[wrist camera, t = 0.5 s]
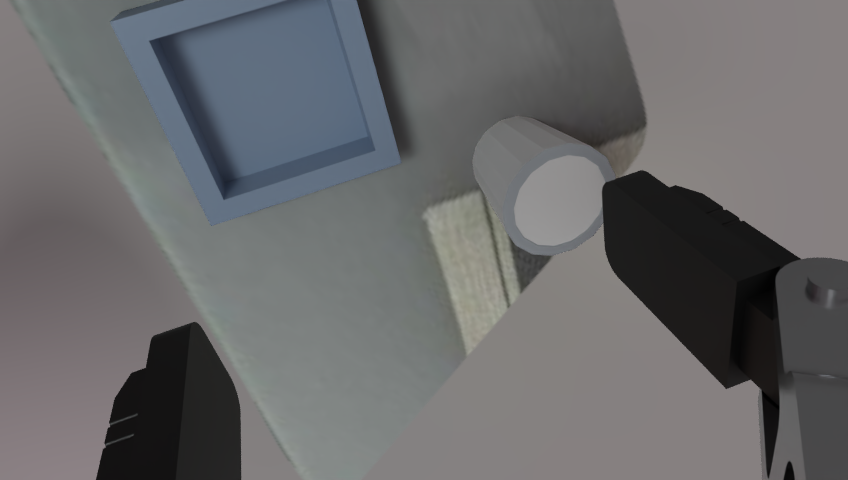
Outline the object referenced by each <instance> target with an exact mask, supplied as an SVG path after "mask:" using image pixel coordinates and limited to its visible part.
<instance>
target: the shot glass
mask: <svg viewBox="0 0 848 480" xmlns="http://www.w3.org/2000/svg"><path fill="white" fill-rule="evenodd" d="M472 165H473V171H474V177H475V179H476V181H477V182H478V184H479V186H480V187H481V189H482V191H483V193H484V194H485V196H486V198H487V199H488V201H489V203H490V205H491V206H492V208H493V210H494V212H495V213H496V215H497V217H498V218H499V220H500V222H501V224H502V225H503V227H504V229H505V230H506V232H507V233H508V235H509V236H510V238H511V239H512V241H513V242H514V244H515V245H516V246H518V247H520V248H522V249H524V250H525V251H527V252H529V253H531V254H536V255H556V254H559V253H563V252H566V251H569V250H572V249H575V248H576V247H578V246H579V245H580V244H582V243H583V242H585V241H586V240H588V239H589V238H591V237H592V236H593V235H594V234H595V233H596V231H597V230H598V229H599V228H600V226H601V225H602V224H603V206H602V188H603V185H604V184H605V183H606V182H608V181H611V180H614V179H615V173H614V171H613V169H612V167H611V165H610V163H609V161H608V159H607V157H605V156H604V155H603V154H601V153H600V152H598V151H597V150H595V149H594V148H593V147H591V146H589V145H587V144H585V143H583V142H581V141H579V140H577V139H575V138H573V137H571V136H569V135H567V134H565V133H563V132H561V131H558V130H556V129H554V128H552V127H550V126H548V125H546V124H544V123H542V122H540V121H538V120H536V119H534V118H530V117H523V116H514V117H510V118H507V119H503V120H500V121H499V122H497V123H496V124H495V125H493V126H492V127H490V128H489V129H488V130H486V132H485V133H484V134H483V136H482V137H481V139H480V140H479V142H478V143H477V145H476V148H475V152H474V156H473V160H472Z"/></svg>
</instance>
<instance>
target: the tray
mask: <svg viewBox="0 0 848 480" xmlns="http://www.w3.org/2000/svg"><path fill="white" fill-rule="evenodd" d="M110 23H111V25H112V27H113V29H114V31H115V33H116V35H117V37H118V39H119V41H120V43H121V45H122V47H123V49H124V51H125V53H126V56H127V58H128V60H129V62H130V64H131V66H132V68H133V70H134V72H135V74H136V76H137V78H138V80H139V82H140V84H141V86H142V88H143V90H144V92H145V94H146V96H147V98H148V100H149V102H150V104H151V106H152V108H153V110H154V112H155V114H156V116H157V118H158V120H159V122H160V124H161V126H162V128H163V130H164V132H165V134H166V136H167V138H168V140H169V142H170V144H171V146H172V148H173V150H174V152H175V154H176V156H177V158H178V160H179V162H180V164H181V166H182V168H183V170H184V172H185V174H186V176H187V178H188V180H189V182H190V184H191V186H192V188H193V190H194V192H195V194H196V196H197V198H198V200H199V202H200V205H201V207H202V209H203V211H204V213H205V215H206V217H207V219H208V221H209V223H210V225H211V226H212V225H215V224H219V223H222V222H225V221H228V220H231V219H234V218H237V217H240V216H243V215H246V214H249V213H252V212H255V211H258V210H261V209H264V208H267V207H270V206H273V205H276V204H279V203H282V202H285V201H288V200H291V199H294V198H297V197H300V196H303V195H306V194H309V193H312V192H315V191H318V190H322V189H325V188H328V187H331V186H334V185H337V184H340V183H343V182H346V181H349V180H352V179H355V178H358V177H361V176H364V175H367V174H370V173H373V172H376V171H379V170H382V169H385V168H388V167H391V166H394V165H397V164H400V163H401V159H400V156H399V152H398V148H397V145H396V141H395V138H394V134H393V130H392V127H391V123H390V120H389V116H388V112H387V109H386V105H385V101H384V98H383V94H382V91H381V87H380V83H379V80H378V76H377V72H376V69H375V65H374V62H373V58H372V54H371V51H370V47H369V44H368V40H367V36H366V33H365V29H364V25H363V22H362V18H361V15H360V11H359V7H358V4H357V0H161V1H157V2H154V3H150V4H147V5H143V6H140V7H136V8H133V9H129V10H126V11H122V12H121V13H119V14H118V15H117V16H116V17H115V18H114V19H113V20H111V21H110Z"/></svg>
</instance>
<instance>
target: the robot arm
mask: <svg viewBox="0 0 848 480" xmlns="http://www.w3.org/2000/svg"><path fill="white" fill-rule="evenodd" d="M602 206H603V223H604V241H605V251H606V255H607V258H608V261H609V263H610V266H611V268H612V269H613V271H614V273H615V274H616V275H617V276H618V278H619V279H620V280H621V281H622V282H623V283H624V284H625V285H626V286H627V287H628V288H629V289H630V290H631V291H632V292H633V293H634V294H635V295H636V296H637V297H638V298H639V299H640V300H641V301H642V302H643V303H644V304H645V305H646V307H647V308H648V309H650V311H651V312H652V313H653V314H654V315H655V316H656V317H657V318H658V319H659V320H660V321H661V322H662V323H663V324H664V325H665V326H666V327H667V328H668V329H669V330H670V331H671V332H672V333H673V334H674V335H675V336H676V337H677V338H678V340H679V341H680V342H682V344H683V345H684V346H685V347H686V348H687V349H688V350H689V351H690V352H691V353H692V354H693V355H694V356H695V357H696V358H697V359H698V360H699V361H700V362H701V363H702V364H703V365H704V366H705V367H706V368H707V369H708V371H709V372H710V373H711V374H712V375H713V376H714V377H715V378H716V379H717V380H718V381H719V382H720V383H721V384H722V385H723V386H724V387H725V388H726V389H727V388H730V387H733V386H735V385H738V384H740V383H743V382H745V381H748V380H752V381H753V382H754V383H755V384H756V385H757V386H758V387H759V388H760V390H759V397H758V407H759V426H760V444H761V462H762V480H848V262H847V261H843V260H838V259H832V258H806V259H800V258H798V257H797V256H795V255H794V254H792V253H791V252H790V251H788V250H786V249H785V248H783V247H782V246H780V245H779V244H777V243H776V242H775V241H773V240H771V239H770V238H768V237H767V236H766V235H764V234H762V233H761V232H760V231H758V230H756V229H755V228H753V227H752V226H751V225H749V224H748V223H746V222H745V221H740V220H739V218H738V217H737V216H736V215H734V214H733V213H731V212H729V211H728V210H723V207H722V206H720V205H719V204H717V203H716V202H714V201H713V200H711V199H710V198H708V197H707V196H705V195H704V194H702V193H699V192H696V191H692V190H689V189H686V188H683V187H679V186H676V185H675V186H673V187H668V186H666V185H665V184H663V183H662V182H661V181H659V180H658V179H656V178H655V177H653V176H652V175H651V174H649V173H648V172H646V171H638V172H635V173H632V174H629V175H626V176H623V177H620V178H617V179H614V180H611V181H608V182H606V183H605V184H604V185H603V188H602ZM109 423H110V427H109V428H108V430H107V434H106V439H105V446H106V448H104V449H103V452H102V456H101V460H100V465H99V469H98V473H97V478H96V480H241V421H240V404H239V400H238V395H237V392H236V389H235V386H234V384H233V381H232V379H231V377H230V376H229V374H228V372H227V370H226V369H225V367H224V365H223V364H222V362H221V360H220V358H219V356H218V355H217V353H216V351H215V350H214V348H213V346H212V344H211V343H210V341H209V339H208V337H207V336H206V334H205V332H204V331H203V329H202V328H201V326H200V325H199V324H198V323H196V322H193V323H190V324H187V325H184V326H181V327H178V328H175V329H172V330H169V331H166V332H163V333H161V334H157V335H155V336H153V337H152V339H151V343H150V348H149V353H148V359H147V364H146V368H144V369H142V370H138V371H136V372H133V373H131V374H130V376H129V378H128V379H127V381H126V382H125V384H124V385H123V387H122V388H121V390H120V391H119V393H118V394H117V396H116V397H115V400H114V404H113V409H112V413H111V418H110V421H109Z"/></svg>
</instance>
